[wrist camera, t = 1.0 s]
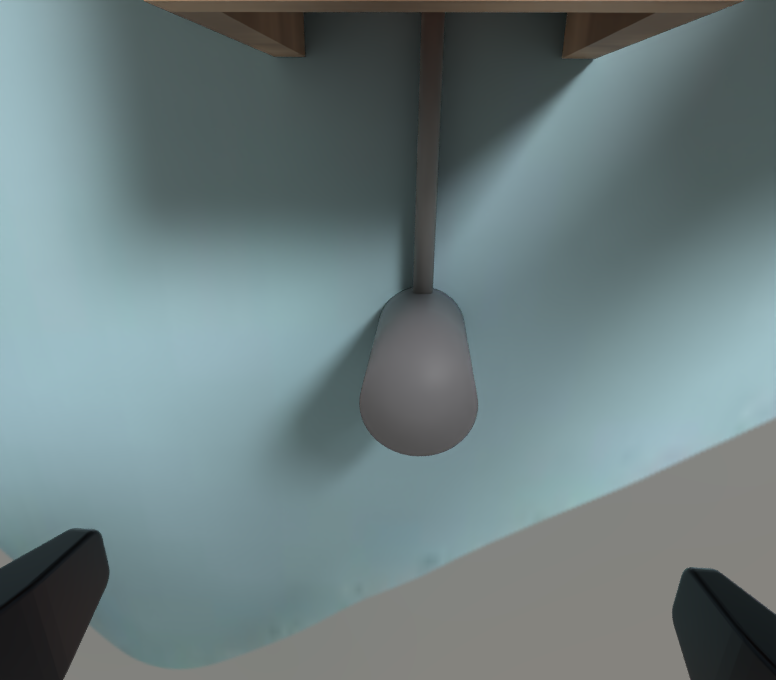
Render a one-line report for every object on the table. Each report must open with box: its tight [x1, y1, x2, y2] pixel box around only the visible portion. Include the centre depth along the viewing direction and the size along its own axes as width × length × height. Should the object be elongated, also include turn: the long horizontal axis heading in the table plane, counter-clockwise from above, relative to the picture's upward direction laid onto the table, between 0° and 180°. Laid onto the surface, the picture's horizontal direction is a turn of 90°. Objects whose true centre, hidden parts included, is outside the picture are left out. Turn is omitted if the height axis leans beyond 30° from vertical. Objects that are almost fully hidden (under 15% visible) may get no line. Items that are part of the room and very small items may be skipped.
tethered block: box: [359, 12, 478, 456], centre depth 15 cm, size 6×19×6 cm, turn 179°
